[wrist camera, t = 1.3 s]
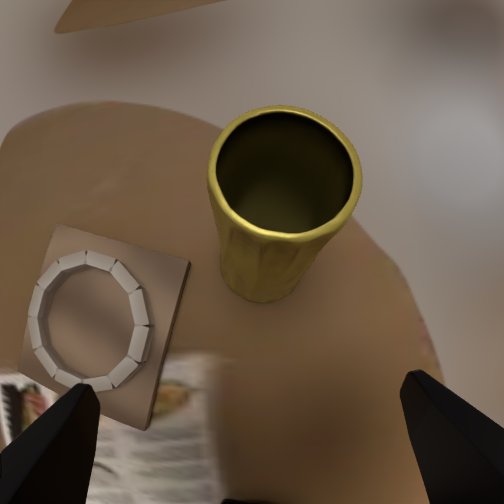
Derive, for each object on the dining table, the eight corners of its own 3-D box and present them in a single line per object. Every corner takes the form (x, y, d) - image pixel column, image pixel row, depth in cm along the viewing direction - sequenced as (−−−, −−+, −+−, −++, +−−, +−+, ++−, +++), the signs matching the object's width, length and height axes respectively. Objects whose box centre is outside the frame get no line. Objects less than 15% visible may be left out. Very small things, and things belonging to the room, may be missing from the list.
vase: (213, 295, 23) (173, 239, 10) (227, 216, 25) (214, 85, 11) (297, 308, 23) (373, 271, 9) (306, 228, 25) (373, 113, 11)
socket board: (147, 427, 21) (138, 436, 18) (24, 370, 21) (7, 371, 19) (190, 263, 24) (185, 255, 21) (62, 226, 24) (48, 217, 22)
